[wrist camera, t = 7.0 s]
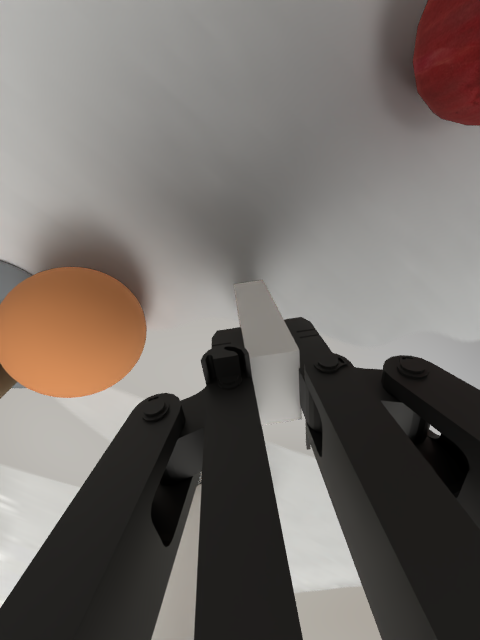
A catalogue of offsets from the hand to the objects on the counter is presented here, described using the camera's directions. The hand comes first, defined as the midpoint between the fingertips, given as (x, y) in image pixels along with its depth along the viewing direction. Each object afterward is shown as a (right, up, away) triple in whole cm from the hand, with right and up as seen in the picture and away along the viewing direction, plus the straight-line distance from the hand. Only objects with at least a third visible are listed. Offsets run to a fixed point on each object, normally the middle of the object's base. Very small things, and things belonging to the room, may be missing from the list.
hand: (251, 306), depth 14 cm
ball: (-8, -1, -1) cm, 8 cm away
